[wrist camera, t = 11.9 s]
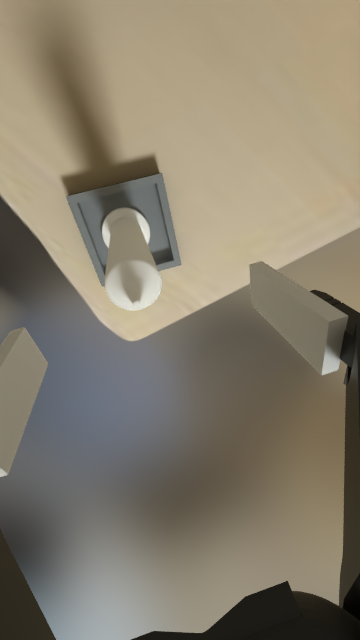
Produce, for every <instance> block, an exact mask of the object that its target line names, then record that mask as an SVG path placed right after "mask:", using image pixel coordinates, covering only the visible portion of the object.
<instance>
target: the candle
mask: <svg viewBox="0 0 360 640" xmlns="http://www.w3.org/2000/svg"><path fill="white" fill-rule="evenodd" d="M102 237H103V240H104V242H105V244H106V246H107V247H108V248H109V249H108V257H107V264H106V272H105V279H104V287H105V291H106V293H107V295H108V297H109V299H110V300H111V301H112V302H113V303H114V304H115V305H117V306H118V307H120V308H123V309H126V310H140V309H144V308H146V307H148V306H150V305H151V304H152V303H153V302H155V300H156V299H157V298H158V296H159V294H160V291H161V287H162V280H161V276H160V273H159V271H158V268H157V266H156V264H155V261H154V259H153V256H152V254H151V252H150V249H149V247H148V243H149V240H150V228H149V225H148V223H147V221H146V219H145V218H144V216H143V215H142V214H141V213H139V212H138V211H136V210H134V209H131V208H126V207H123V208H118V209H115V210H113V211H111V212H110V213H109V214H108V215H107V216H106V218H105V220H104V222H103V225H102Z"/></svg>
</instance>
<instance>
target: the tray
mask: <svg viewBox="0 0 360 640" xmlns="http://www.w3.org/2000/svg"><path fill="white" fill-rule="evenodd" d="M66 198H67V201H68V203H69V206H70V208H71V211H72V213H73V216H74V218H75V220H76V223H77V225H78V228H79V230H80V233H81V235H82V238H83V240H84V243H85V245H86V248H87V250H88V253H89V255H90V258H91V260H92V263H93V265H94V268H95V270H96V273H97V275H98V278H99V280H100V283H101V285H102V286H104V279H105V272H106V264H107V257H108V249H109V248H108V247H107V246H106V244H105V242H104V240H103V237H102V225H103V222H104V220H105V218H106V216H107V215H108V214H109V213H110V212H111V211H113V210H115V209H118V208H123V207H126V208H131V209H134V210H136V211H138V212H139V213H141V214H142V215H143V216H144V218H145V219H146V221H147V223H148V225H149V228H150V240H149V243H148V247H149V249H150V252H151V254H152V256H153V259H154V261H155V264H156V266H157V268H158V271H161V270H164V269H168V268H172V267H175V266H179V265H181V261H180V256H179V251H178V246H177V241H176V237H175V232H174V227H173V222H172V218H171V213H170V208H169V203H168V198H167V194H166V189H165V184H164V179H163V175H162V173H159V174H155V175H151V176H147V177H143V178H139V179H134V180H130V181H126V182H122V183H118V184H114V185H110V186H106V187H102V188H98V189H93V190H89V191H85V192H81V193H77V194H73V195H69V196H67V197H66Z"/></svg>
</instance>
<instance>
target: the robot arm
mask: <svg viewBox="0 0 360 640" xmlns="http://www.w3.org/2000/svg"><path fill="white" fill-rule="evenodd" d="M250 283H251V301H252V306H253V307H254V308H255V309H256V310H257V311H258V312H259V313H260V314H261V315H262V316H263V317H264V318H265V319H266V320H267V321H268V322H269V323H270V324H271V325H272V326H273V327H274V328H275V329H276V330H277V331H278V332H279V333H280V334H281V335H282V336H283V337H284V338H285V339H286V340H287V341H288V342H289V343H290V344H291V345H292V346H293V347H294V348H295V349H296V350H297V351H298V352H299V353H300V354H301V355H302V356H303V357H304V358H305V359H306V360H307V361H308V362H309V363H310V364H311V365H312V366H313V367H314V368H315V369H316V370H317V371H318V372H319V373H320V374H321V375H324V374H327V373H330V372H333V371H337V370H338V368H339V363H340V359H341V360H342V361H343V362H345V363H346V364H347V370H346V374H345V379H344V384H346V412H345V414H346V415H345V472H344V532H343V533H344V534H343V535H344V536H343V558H342V565H341V573H340V590H339V606H338V605H336V604H334V603H332V602H330V601H328V600H326V599H324V598H322V597H319V596H316V595H313V594H309V593H304V592H299V591H291V588H290V586H289V583H288V581H286V582H283V583H281V584H278V585H275V586H273V587H270V588H267V589H265V590H262V591H260V592H257V593H254V594H251V595H249V596H246V597H245V598H244V599H242V600H241V601H240V602H239V603H238V604H237V605H235V606H234V607H233V608H232V609H231V610H230V611H229V612H228V613H226V614H225V615H224V616H223V617H222V618H221V619H220V620H219V621H217V622H216V623H215V624H214V625H213V626H212V627H211V628H210V629H208V630H207V631H205V632H203V633H182V632H161V631H153V632H150V633H147V634H145V635H142V636H139V637H137V638H134V639H131V640H360V313H359V312H357V311H355V310H354V309H352V308H350V307H348V306H347V305H345V304H344V303H341V302H340V301H338V300H337V299H334V298H333V297H332V296H330V295H328V294H327V293H324V292H320V291H317V290H312V291H308V290H307V289H305V288H303V287H302V286H300V285H299V284H297V283H295V282H294V281H292V280H291V279H289V278H287V277H286V276H284V275H283V274H281V273H280V272H278V271H276V270H275V269H273V268H272V267H270V266H269V265H267V264H265V263H264V262H262V261H261V262H257V263H254V264H250ZM47 366H48V363H47V361H46V360H45V358H44V357H43V355H42V353H41V352H40V350H39V349H38V347H37V346H36V344H35V343H34V341H33V340H32V338H31V336H30V335H29V333H28V332H27V330H26V329H25V327H23V328H19V329H16V330H12V331H10V332H9V334H8V335H7V337H6V338H5V340H4V341H3V343H2V344H1V346H0V477H2V476H5V475H8V473H9V471H10V467H11V465H12V462H13V460H14V457H15V454H16V451H17V449H18V446H19V443H20V440H21V438H22V435H23V432H24V429H25V426H26V424H27V421H28V418H29V416H30V413H31V410H32V407H33V404H34V401H35V399H36V396H37V394H38V391H39V388H40V385H41V382H42V380H43V377H44V374H45V371H46V369H47ZM0 640H56V639H55V637H54V635H53V633H52V631H51V629H50V627H49V625H48V623H47V621H46V619H45V617H44V615H43V613H42V611H41V609H40V607H39V605H38V603H37V601H36V599H35V597H34V595H33V593H32V591H31V589H30V588H29V585H28V584H27V581H26V579H25V577H24V575H23V573H22V571H21V570H20V567H19V566H18V564H17V562H16V560H15V558H14V556H13V554H12V552H11V550H10V548H9V546H8V544H7V542H6V540H5V538H4V536H3V534H2V532H1V530H0Z"/></svg>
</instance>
